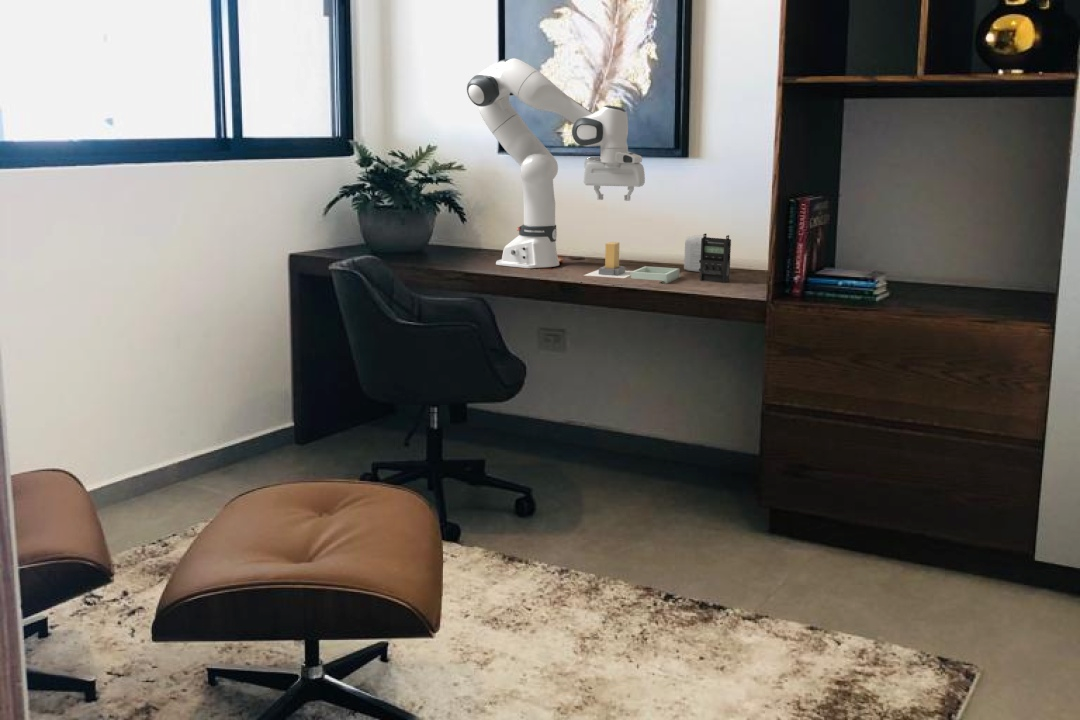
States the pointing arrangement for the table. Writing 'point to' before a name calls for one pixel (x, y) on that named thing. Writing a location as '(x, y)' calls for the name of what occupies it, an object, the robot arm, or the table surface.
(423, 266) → the table surface
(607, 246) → the block
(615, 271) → the panel
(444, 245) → the table surface
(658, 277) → the parts tray
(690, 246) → the photo printer
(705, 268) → the geiger counter
